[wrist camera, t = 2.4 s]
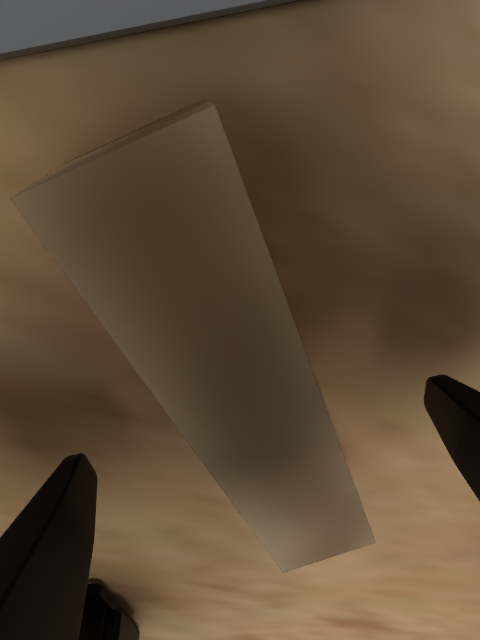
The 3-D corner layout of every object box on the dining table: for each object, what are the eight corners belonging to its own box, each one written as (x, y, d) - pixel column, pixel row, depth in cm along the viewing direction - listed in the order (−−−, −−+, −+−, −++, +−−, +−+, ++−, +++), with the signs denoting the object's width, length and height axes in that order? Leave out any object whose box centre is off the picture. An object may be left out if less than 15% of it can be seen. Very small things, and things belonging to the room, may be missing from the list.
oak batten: (265, 486, 16) (282, 572, 13) (67, 160, 9) (9, 198, 6) (340, 459, 16) (375, 542, 13) (204, 98, 8) (215, 105, 5)
